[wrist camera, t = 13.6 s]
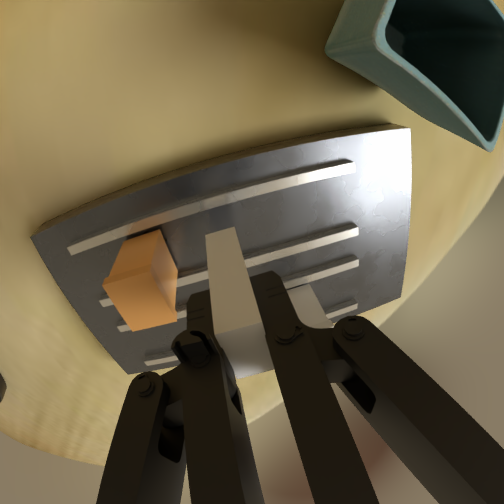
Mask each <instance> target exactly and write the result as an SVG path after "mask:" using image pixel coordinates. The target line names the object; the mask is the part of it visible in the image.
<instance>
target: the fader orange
mask: <svg viewBox="0 0 504 504" xmlns="http://www.w3.org/2000/svg"><path fill="white" fill-rule="evenodd" d="M177 273H178V270H177V268H176V266H175V263H174V261H173V259H172V257H171V254H170V252H169V250H168V247H167V245H166V243H165V240H164V238H163V236H162V233H161V231H160V229H159V230H156V231H153V232H150V233H146V234H143V235H140V236H137V237H134V238H131V239H129V240H126V241H124V242H123V244H122V246H121V248H120V251H119V253H118V255H117V258H116V260H115V262H114V265H113V267H112V269H111V272H110V274H109V277H107V278H105V279H104V282H103V284H102V286H103V288H104V290H105V291H106V293H107V294H108V296H109V298H110V299H111V301H112V302H113V304H114V305H115V307H116V308H117V310H118V311H119V313H120V314H121V316H122V317H123V319H124V320H125V322H126V323H127V325H128V326H129V327H130V329H131V330H132V332H134V331H138V330H142V329H147V328H151V327H155V326H160V325H164V324H168V323H172V322H176V321H177V312H176V310H175V300H176V286H177Z"/></svg>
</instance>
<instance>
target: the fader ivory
mask: <svg viewBox="0 0 504 504" xmlns="http://www.w3.org/2000/svg"><path fill="white" fill-rule="evenodd" d="M287 293H288V295H289V297H290V300H291V302H292V304H293V306H294V309H295V311H296V313H297V315H298V318H299V319H300V321H301V322H302V323H304V324H305V325H307V326H309V327H312V328H334V325H333V323H332V321H331V319H330V320H328V318H327V316H326V314H325V312H324V311H323V309H322V307H321V305H320V303H319V301H318V299H317V297H316V296H315V294H314V292H313V290H312V288H311V286H310V284H306V285H303V286H300V287H297V288H293V289H290V290H287Z"/></svg>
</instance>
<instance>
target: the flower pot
mask: <svg viewBox="0 0 504 504" xmlns="http://www.w3.org/2000/svg"><path fill="white" fill-rule="evenodd" d="M325 53H326V55H327V56H328V57H329V58H331V59H333V60H335V61H336V62H338V63H340V64H342V65H344V66H346V67H347V68H349V69H351V70H353V71H354V72H356V73H358V74H360V75H361V76H363V77H365V78H366V79H368V80H369V81H371V82H373V83H374V84H376V85H377V86H379V87H380V88H382V89H383V90H385V91H386V92H387V93H389V94H390V95H392V96H393V97H394V98H396V99H397V100H399V101H400V102H401V103H402V104H404V105H405V106H407V107H408V108H409V109H411V110H412V111H414V112H415V113H417V114H418V115H420V116H421V117H423V118H425V119H426V120H428V121H430V122H432V123H434V124H436V125H438V126H440V127H442V128H444V129H446V130H448V131H450V132H452V133H454V134H456V135H458V136H460V137H462V138H464V139H466V140H468V141H469V142H471V143H473V144H475V145H477V146H479V147H481V148H482V149H484V150H486V151H488V152H492V151H493V150H494V147H495V145H496V142H497V140H498V136H499V133H500V130H501V126H502V123H503V120H504V15H503V13H502V12H501V11H500V9H499V8H498V7H497V5H496V4H495V3H494V2H493V0H345V1H344V3H343V6H342V8H341V10H340V13H339V15H338V17H337V20H336V22H335V24H334V27H333V29H332V31H331V34H330V36H329V38H328V40H327V43H326V45H325Z"/></svg>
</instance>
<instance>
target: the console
mask: <svg viewBox="0 0 504 504" xmlns="http://www.w3.org/2000/svg"><path fill="white" fill-rule="evenodd" d="M410 210H411V136H410V128H408V127H404V126H400V125H397V124H383V125H375V126H367V127H359V128H352V129H345V130H339V131H332V132H326V133H321V134H315V135H310V136H304V137H299V138H294V139H289V140H285V141H280V142H276V143H271V144H267V145H262V146H258V147H254V148H250V149H246V150H242V151H238V152H234V153H231V154H227V155H223V156H220V157H216V158H213V159H209V160H206V161H202V162H199V163H196V164H193V165H189V166H186V167H183V168H180V169H177V170H174V171H171V172H168V173H165V174H162V175H159V176H156V177H153V178H150V179H148V180H145V181H142V182H139V183H137V184H134V185H131V186H129V187H126V188H123V189H121V190H118V191H116V192H113V193H111V194H108V195H106V196H103V197H101V198H99V199H96V200H94V201H92V202H89V203H87V204H85V205H82V206H80V207H78V208H76V209H73V210H71V211H69V212H67V213H65V214H63V215H60V216H58V217H56V218H54V219H52V220H50V221H48V222H46V223H44V224H42V225H41V226H40V227H39V229H38V230H37V231H36V232H35V233H34V234H33V235H32V236H31V237H30V238H31V240H32V241H33V243H34V245H35V247H36V249H37V251H38V252H39V254H40V256H41V258H42V259H43V261H44V263H45V265H46V266H47V268H48V270H49V271H50V273H51V275H52V276H53V278H54V279H55V281H56V283H57V284H58V286H59V287H60V289H61V290H62V292H63V293H64V295H65V296H66V298H67V299H68V301H69V302H70V304H71V305H72V306H73V308H74V309H75V311H76V312H77V313H78V315H79V316H80V318H81V319H82V320H83V322H84V323H85V324H86V326H87V327H88V328H89V329H90V331H91V332H92V333H93V335H94V336H95V337H96V338H97V340H98V341H99V342H100V343H101V344H102V346H103V347H104V348H105V349H106V350H107V352H108V353H109V354H110V355H111V356H112V357H113V359H114V360H115V361H116V362H117V363H118V364H119V365H120V367H121V368H122V369H123V370H124V371H125V372H126V373H127V374H134V373H141V372H147V371H153V370H158V369H164V368H169V367H174V366H178V365H179V364H180V363H181V362H180V361H179V360H178V358H177V357H176V355H175V354H174V352H173V351H172V349H171V345H172V342H173V340H174V339H175V337H176V336H177V335H178V334H180V333H181V332H182V331H184V330H187V319H186V314H187V313H186V303H187V301H188V299H189V297H190V295H191V294H193V293H197V292H201V291H204V290H208V289H210V287H209V276H208V264H207V252H206V238H205V235H207V234H210V233H214V232H217V231H221V230H224V229H228V228H231V227H235V230H236V234H237V237H238V241H239V244H240V248H241V251H242V255H243V258H244V262H245V265H246V269H247V272H248V275H249V277H251V276H254V275H258V274H261V273H264V272H268V271H271V270H272V271H274V272H275V273H277V274H278V275H279V276H280V277H281V279H282V281H283V284H284V286H285V288H286V290H290V289H293V288H297V287H300V286H303V285H306V284H310V286H311V288H312V290H313V292H314V294H315V296H316V297H317V299H318V301H319V303H320V305H321V307H322V309H323V311H324V312H325V314H326V316H327V318H328V320H330V319H331V321H332V323H336V322H338V321H339V320H340V319H342V318H344V317H347V316H354V315H357V314H360V313H363V312H365V311H368V310H371V309H373V308H376V307H378V306H381V305H383V304H386V303H388V302H390V301H393V300H395V299H398V298H400V297H401V291H402V285H403V279H404V272H405V265H406V257H407V248H408V238H409V226H410ZM159 229H160V231H161V233H162V236H163V238H164V240H165V243H166V245H167V247H168V250H169V252H170V254H171V257H172V259H173V261H174V263H175V266H176V268H177V270H178V273H177V286H176V300H175V310H176V312H177V321H176V322H172V323H168V324H164V325H160V326H155V327H151V328H147V329H142V330H138V331H134V332H132V330H131V329H130V327H129V326H128V325H127V323H126V322H125V320H124V319H123V317H122V316H121V314H120V313H119V311H118V310H117V308H116V307H115V305H114V304H113V302H112V301H111V299H110V298H109V296H108V294H107V293H106V291H105V290H104V288H103V286H102V284H103V282H104V279H105V278H107V277H109V274H110V272H111V269H112V267H113V265H114V262H115V260H116V258H117V255H118V253H119V251H120V248H121V246H122V244H123V242H124V241H126V240H129V239H131V238H134V237H137V236H140V235H143V234H146V233H150V232H153V231H156V230H159Z"/></svg>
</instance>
